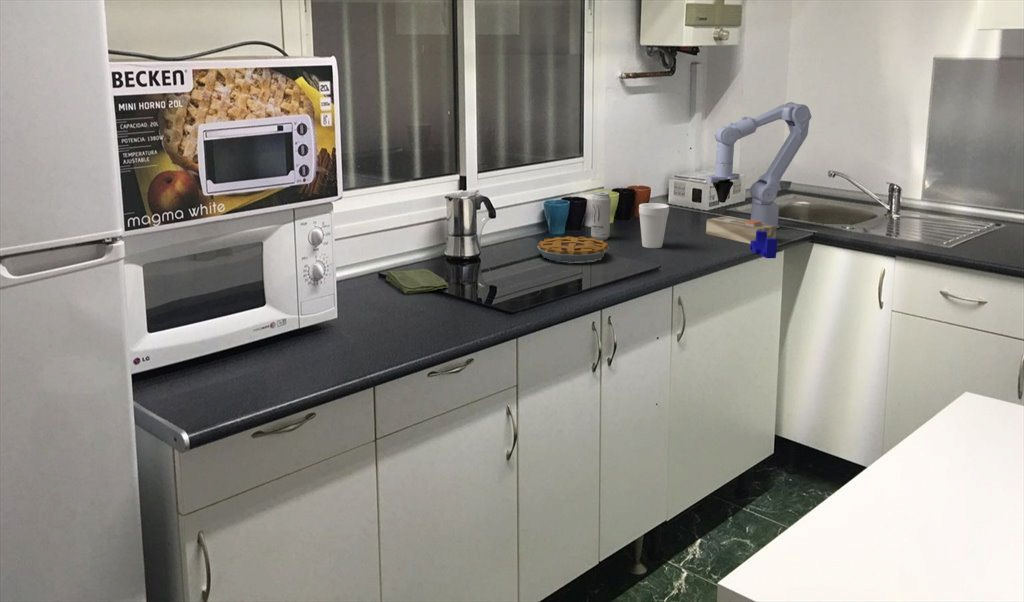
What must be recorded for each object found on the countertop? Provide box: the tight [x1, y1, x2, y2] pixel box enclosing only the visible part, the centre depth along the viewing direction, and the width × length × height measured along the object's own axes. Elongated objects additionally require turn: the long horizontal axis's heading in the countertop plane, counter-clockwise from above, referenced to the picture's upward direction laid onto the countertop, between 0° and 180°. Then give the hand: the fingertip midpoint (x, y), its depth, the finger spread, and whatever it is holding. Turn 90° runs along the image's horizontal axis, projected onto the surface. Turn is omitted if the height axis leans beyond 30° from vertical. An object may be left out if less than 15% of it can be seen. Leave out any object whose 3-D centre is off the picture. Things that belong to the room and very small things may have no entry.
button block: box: [705, 215, 777, 245], centre depth 327 cm, size 10×21×5 cm, turn 37°
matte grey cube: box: [723, 219, 737, 222], centre depth 331 cm, size 4×4×5 cm
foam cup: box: [638, 202, 670, 249], centre depth 312 cm, size 10×9×13 cm
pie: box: [536, 235, 610, 262], centre depth 299 cm, size 22×22×5 cm
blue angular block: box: [749, 231, 778, 259], centre depth 304 cm, size 12×4×6 cm, turn 3°
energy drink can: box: [590, 191, 612, 241], centre depth 322 cm, size 6×6×15 cm
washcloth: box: [385, 268, 449, 295], centre depth 266 cm, size 13×18×3 cm
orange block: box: [745, 219, 761, 227], centre depth 323 cm, size 4×4×5 cm
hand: (721, 202), depth 338 cm, fingers closed
